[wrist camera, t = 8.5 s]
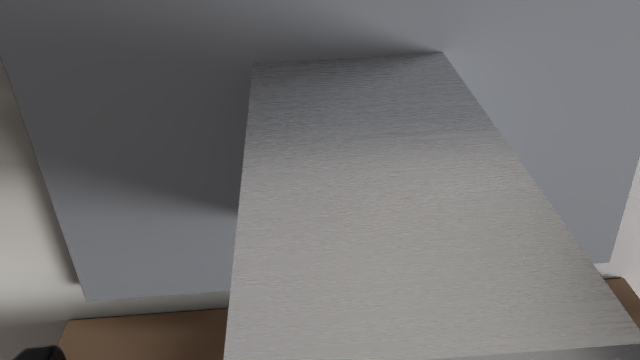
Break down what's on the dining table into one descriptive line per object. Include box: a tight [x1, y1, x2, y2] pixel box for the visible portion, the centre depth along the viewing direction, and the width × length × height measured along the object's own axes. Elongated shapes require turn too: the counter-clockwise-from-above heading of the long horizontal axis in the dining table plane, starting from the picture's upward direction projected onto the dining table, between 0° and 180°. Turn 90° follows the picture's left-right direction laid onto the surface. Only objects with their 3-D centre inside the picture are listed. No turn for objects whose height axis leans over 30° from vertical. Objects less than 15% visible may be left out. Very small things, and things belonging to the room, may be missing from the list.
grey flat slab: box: [0, 0, 640, 302], centre depth 13 cm, size 14×9×1 cm, turn 93°
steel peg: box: [223, 52, 640, 360], centre depth 10 cm, size 4×4×8 cm
